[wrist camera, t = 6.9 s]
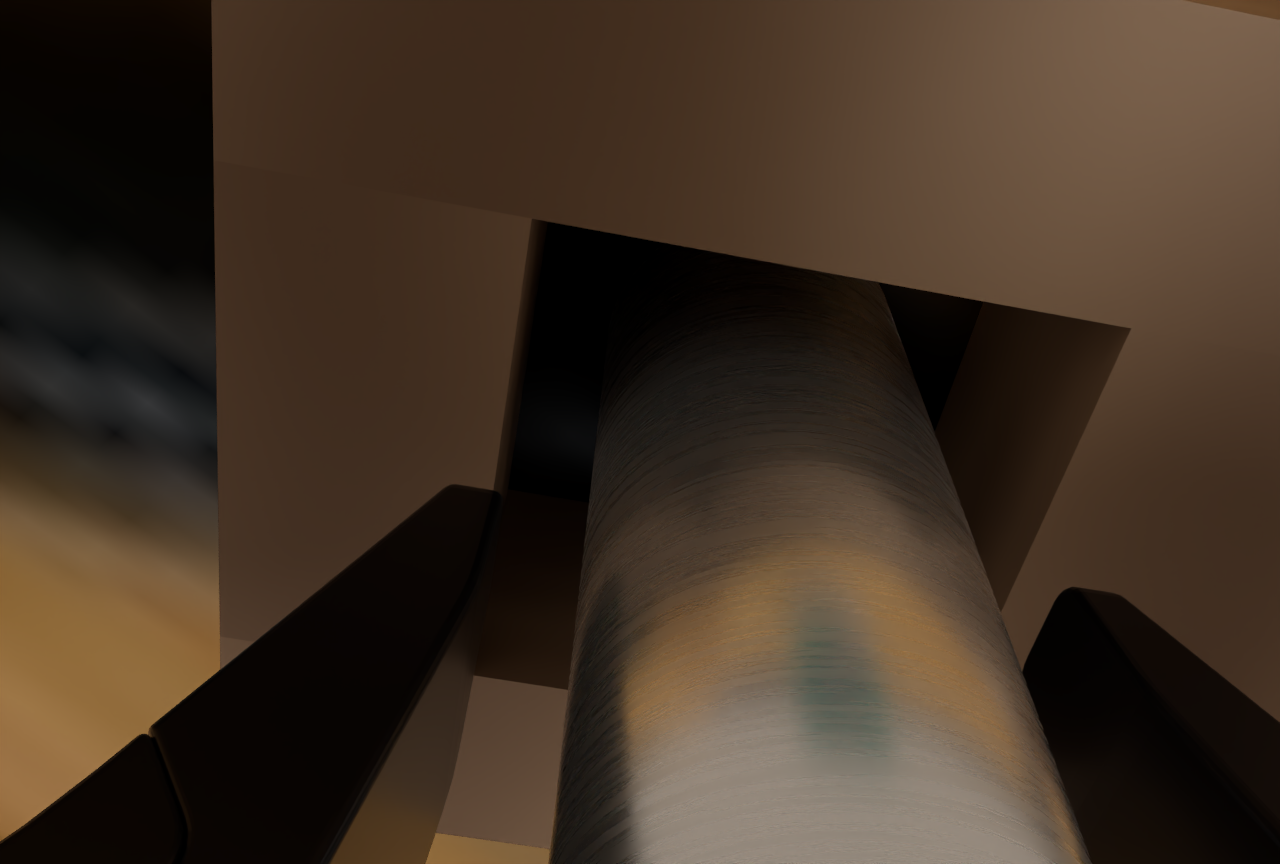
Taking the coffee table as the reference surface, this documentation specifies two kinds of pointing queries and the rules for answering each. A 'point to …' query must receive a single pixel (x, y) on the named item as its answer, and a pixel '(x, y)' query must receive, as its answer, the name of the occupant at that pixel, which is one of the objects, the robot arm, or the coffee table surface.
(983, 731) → the pin
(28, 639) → the coffee table surface
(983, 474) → the socket block
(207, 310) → the coffee table surface
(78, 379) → the coffee table surface
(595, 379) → the coffee table surface
